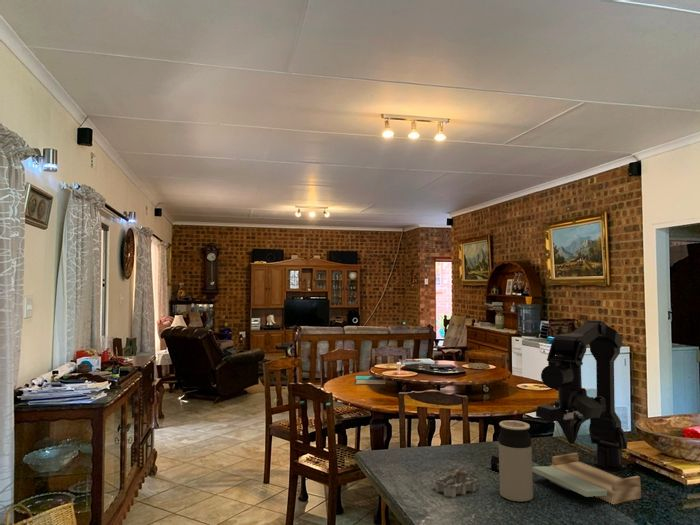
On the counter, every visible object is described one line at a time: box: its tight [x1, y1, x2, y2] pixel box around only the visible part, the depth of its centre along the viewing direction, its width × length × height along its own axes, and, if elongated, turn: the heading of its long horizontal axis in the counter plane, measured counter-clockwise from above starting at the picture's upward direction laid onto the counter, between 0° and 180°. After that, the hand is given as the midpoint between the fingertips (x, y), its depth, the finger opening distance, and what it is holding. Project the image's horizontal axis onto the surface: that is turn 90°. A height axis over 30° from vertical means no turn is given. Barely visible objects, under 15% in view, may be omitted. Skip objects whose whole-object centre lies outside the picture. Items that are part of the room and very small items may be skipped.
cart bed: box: [549, 452, 642, 505], centre depth 129 cm, size 10×20×5 cm, turn 22°
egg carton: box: [432, 467, 479, 498], centre depth 128 cm, size 11×8×4 cm
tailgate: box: [532, 465, 608, 498], centre depth 126 cm, size 2×18×7 cm
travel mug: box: [498, 419, 534, 503], centre depth 124 cm, size 8×8×18 cm
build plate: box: [487, 453, 499, 474], centre depth 141 cm, size 12×7×5 cm, turn 42°
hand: (571, 443), depth 127 cm, fingers closed
